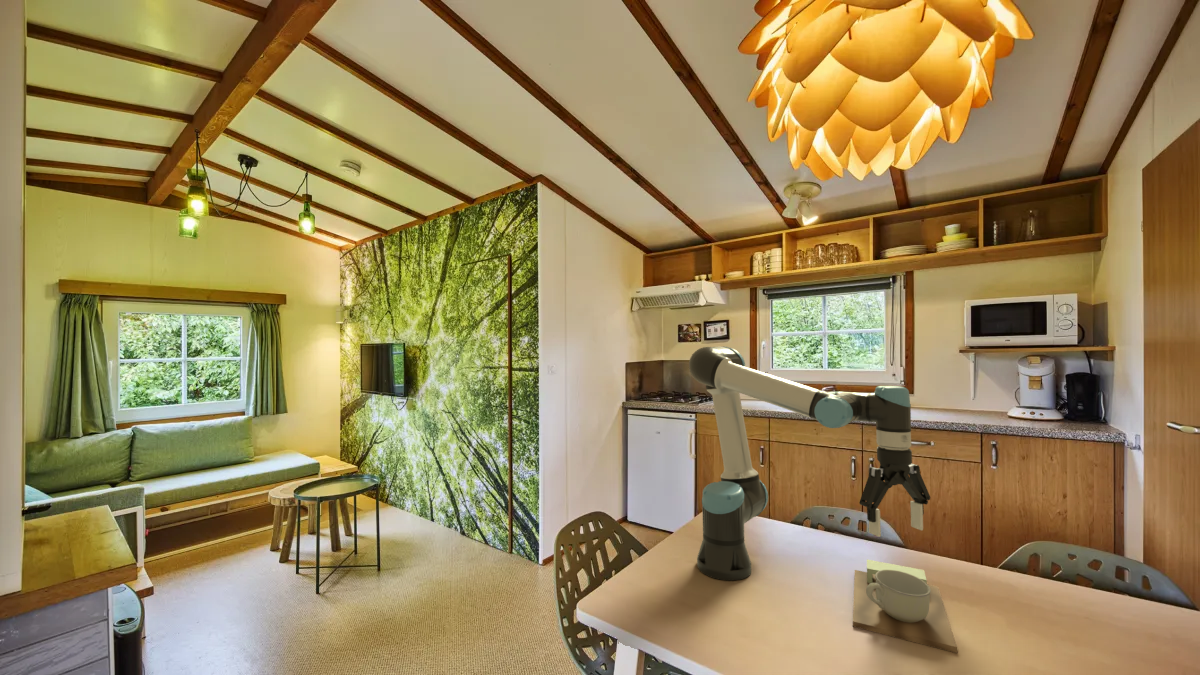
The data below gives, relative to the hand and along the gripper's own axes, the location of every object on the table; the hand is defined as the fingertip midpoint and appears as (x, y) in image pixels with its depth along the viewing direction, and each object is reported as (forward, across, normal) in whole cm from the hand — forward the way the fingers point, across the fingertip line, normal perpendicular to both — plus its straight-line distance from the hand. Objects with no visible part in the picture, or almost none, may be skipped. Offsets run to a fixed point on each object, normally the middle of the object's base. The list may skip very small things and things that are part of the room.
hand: (896, 531), depth 117 cm
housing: (+16, +4, +4) cm, 17 cm away
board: (+17, -4, -3) cm, 17 cm away
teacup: (+16, -9, -7) cm, 19 cm away
